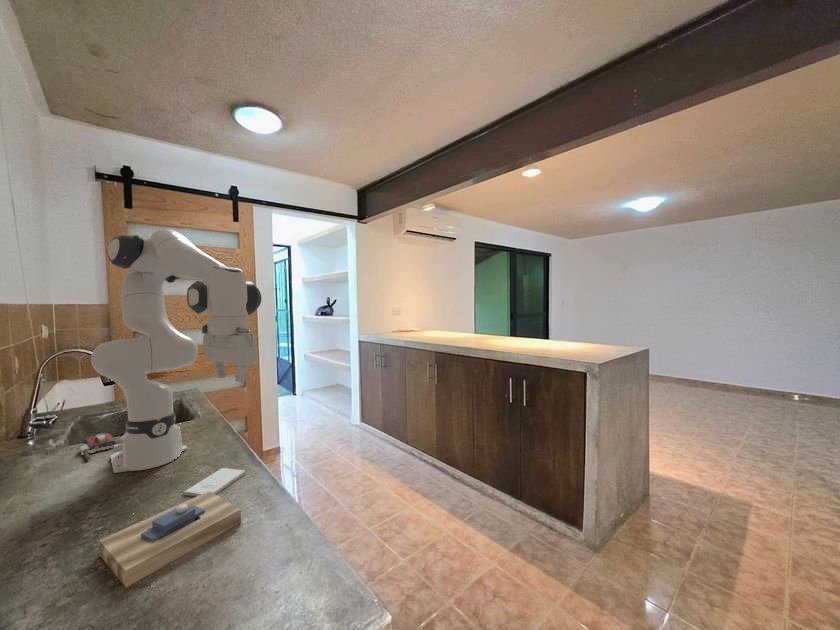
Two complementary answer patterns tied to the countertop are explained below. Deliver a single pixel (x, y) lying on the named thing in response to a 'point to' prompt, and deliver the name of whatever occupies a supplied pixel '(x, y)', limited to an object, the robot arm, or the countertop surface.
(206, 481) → the external hard drive
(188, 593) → the countertop surface
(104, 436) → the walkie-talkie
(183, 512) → the block
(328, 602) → the countertop surface
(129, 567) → the wooden board with hole
